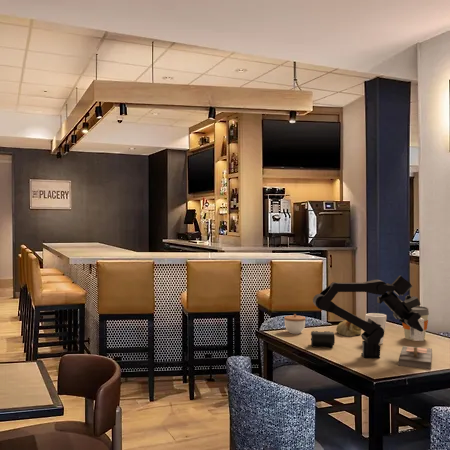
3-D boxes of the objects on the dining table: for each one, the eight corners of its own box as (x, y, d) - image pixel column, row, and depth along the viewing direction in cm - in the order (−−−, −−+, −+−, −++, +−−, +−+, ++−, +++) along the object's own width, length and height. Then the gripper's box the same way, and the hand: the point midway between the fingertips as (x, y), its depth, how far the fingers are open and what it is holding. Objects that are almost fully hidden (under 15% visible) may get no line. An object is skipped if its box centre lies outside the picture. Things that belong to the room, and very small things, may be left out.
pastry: (357, 337, 268) (357, 321, 268) (332, 335, 274) (332, 319, 274) (365, 332, 280) (365, 317, 280) (341, 330, 286) (341, 314, 286)
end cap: (312, 348, 246) (312, 333, 246) (310, 344, 253) (310, 329, 253) (334, 348, 246) (334, 333, 246) (331, 344, 253) (331, 330, 253)
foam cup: (361, 341, 260) (361, 313, 260) (377, 339, 264) (377, 312, 263) (374, 345, 251) (374, 317, 251) (390, 343, 255) (390, 316, 255)
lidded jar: (288, 329, 286) (288, 311, 286) (308, 331, 282) (308, 313, 281) (281, 333, 276) (281, 314, 276) (301, 335, 272) (302, 316, 272)
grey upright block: (414, 340, 230) (414, 319, 230) (409, 338, 235) (410, 317, 235) (423, 340, 230) (424, 319, 230) (419, 338, 235) (419, 317, 235)
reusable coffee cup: (414, 342, 258) (414, 310, 258) (395, 337, 270) (395, 306, 269) (434, 340, 263) (434, 308, 263) (415, 334, 275) (415, 305, 275)
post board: (430, 368, 213) (431, 353, 213) (398, 365, 218) (398, 350, 218) (432, 354, 236) (432, 340, 236) (402, 351, 240) (402, 338, 240)
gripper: (416, 293, 222) (443, 320, 223) (400, 287, 241) (425, 312, 242) (396, 312, 222) (423, 339, 223) (382, 305, 241) (407, 330, 241)
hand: (420, 329), depth 232 cm, fingers closed on grey upright block, 5 cm apart
